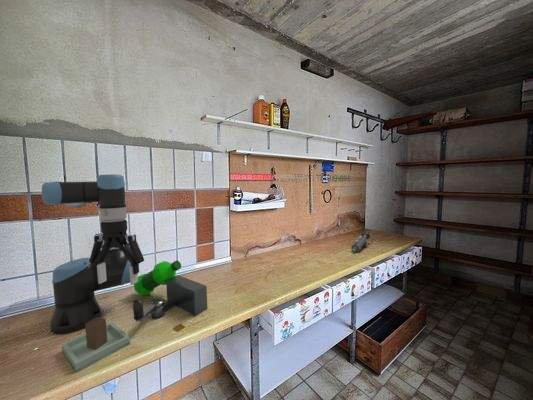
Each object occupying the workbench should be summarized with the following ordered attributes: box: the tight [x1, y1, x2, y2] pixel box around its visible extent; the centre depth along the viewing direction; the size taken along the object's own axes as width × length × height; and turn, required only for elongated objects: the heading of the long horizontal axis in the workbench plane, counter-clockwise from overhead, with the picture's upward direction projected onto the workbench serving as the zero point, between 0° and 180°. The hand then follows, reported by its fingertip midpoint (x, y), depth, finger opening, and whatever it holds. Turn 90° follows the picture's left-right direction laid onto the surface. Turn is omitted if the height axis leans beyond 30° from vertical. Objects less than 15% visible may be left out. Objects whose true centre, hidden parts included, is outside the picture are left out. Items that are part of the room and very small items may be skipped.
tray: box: [61, 321, 131, 373], centre depth 73 cm, size 14×14×2 cm
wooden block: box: [84, 317, 107, 349], centre depth 74 cm, size 4×4×8 cm
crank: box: [132, 297, 165, 322], centre depth 86 cm, size 15×5×7 cm, turn 174°
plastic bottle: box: [133, 260, 182, 296], centre depth 107 cm, size 10×10×25 cm
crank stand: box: [150, 275, 208, 332], centre depth 93 cm, size 23×16×10 cm
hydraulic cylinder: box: [351, 231, 372, 253], centre depth 177 cm, size 7×37×10 cm, turn 142°
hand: (118, 282), depth 80 cm, fingers open, 11 cm apart
